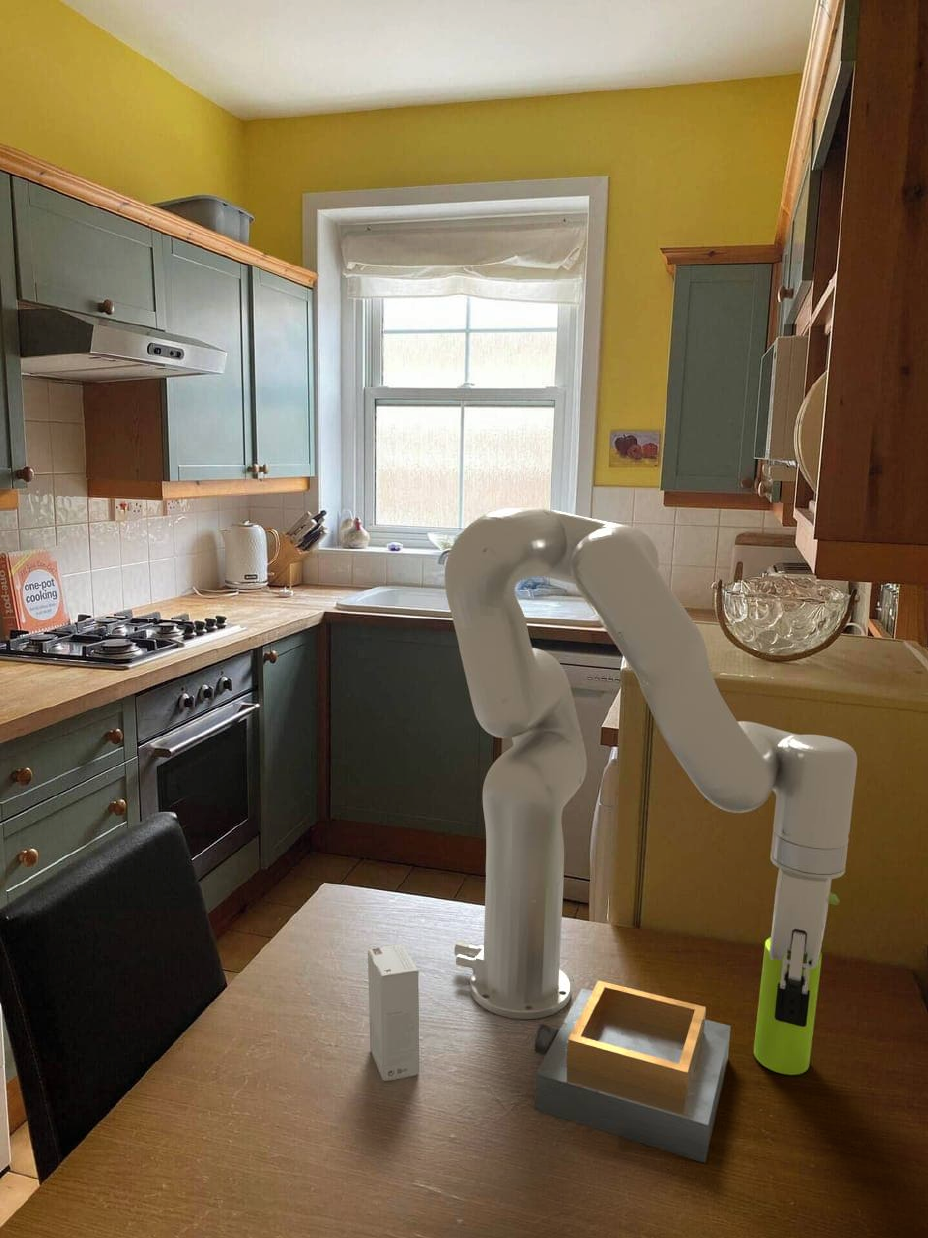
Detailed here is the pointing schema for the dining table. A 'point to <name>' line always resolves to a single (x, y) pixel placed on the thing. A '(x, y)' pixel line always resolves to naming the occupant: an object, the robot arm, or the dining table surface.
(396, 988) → the skincare box
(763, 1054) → the green pump bottle
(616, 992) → the bottle holder tray
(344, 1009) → the dining table surface
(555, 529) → the robot arm
